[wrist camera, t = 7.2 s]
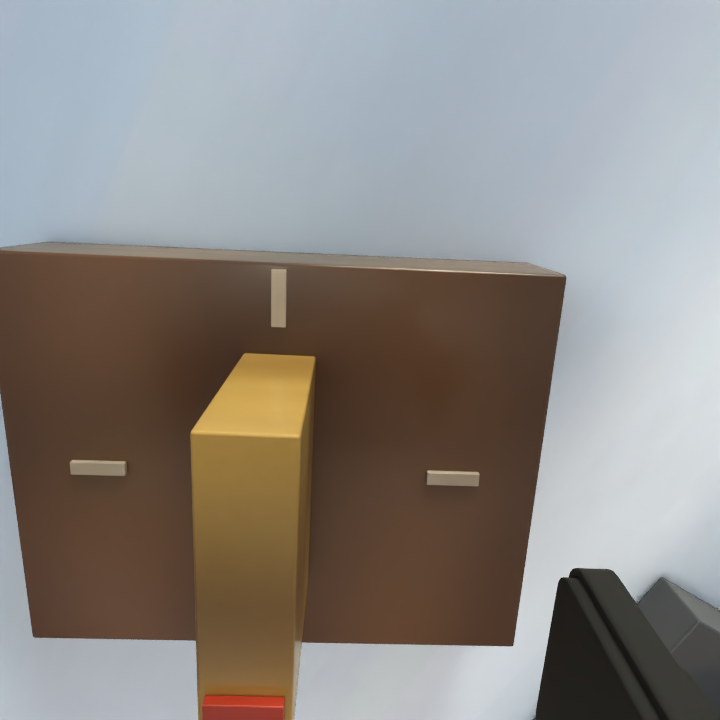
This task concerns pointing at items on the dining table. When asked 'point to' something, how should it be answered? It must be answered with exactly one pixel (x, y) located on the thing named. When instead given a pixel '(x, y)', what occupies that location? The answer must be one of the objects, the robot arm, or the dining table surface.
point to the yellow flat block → (252, 537)
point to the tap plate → (330, 431)
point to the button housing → (687, 634)
